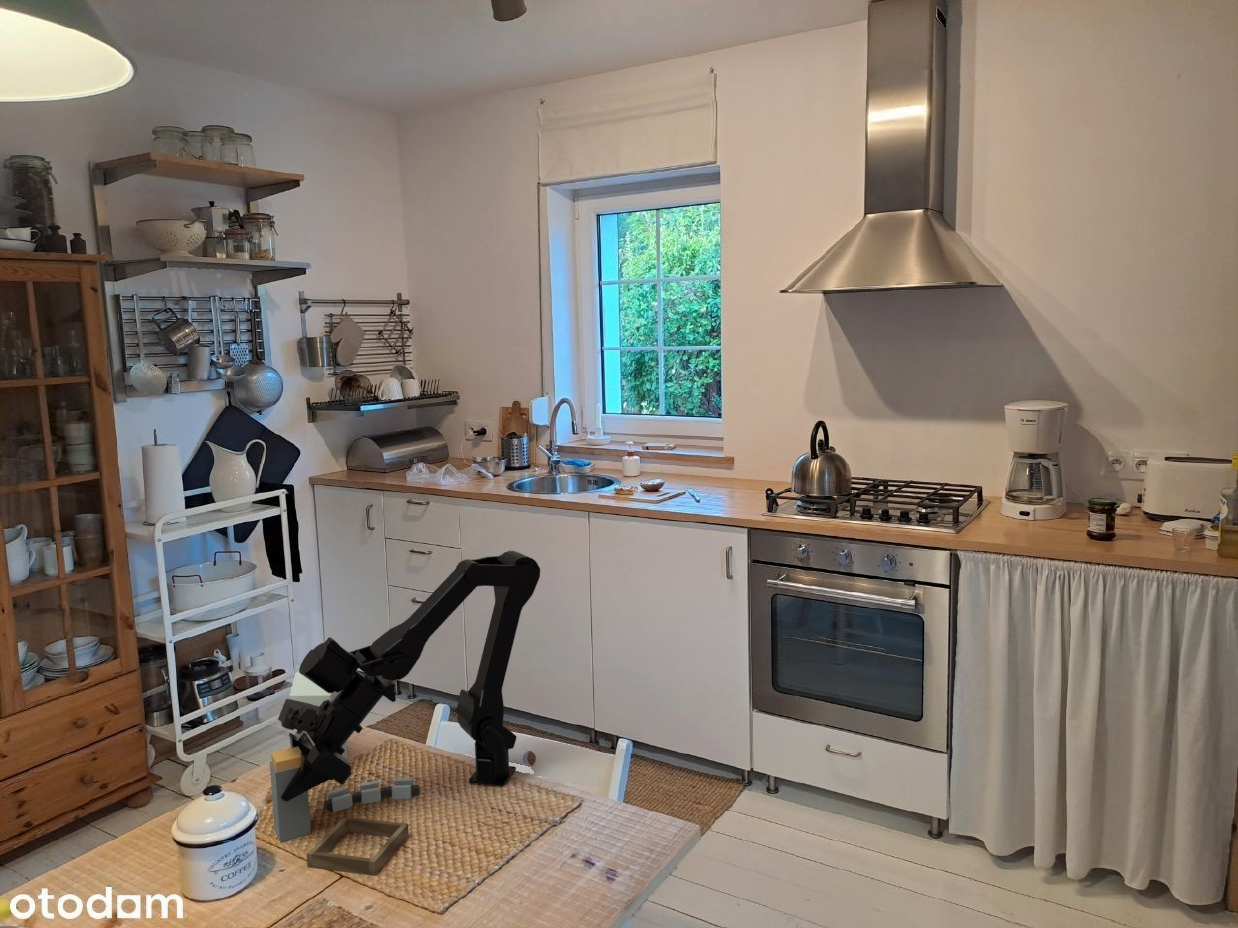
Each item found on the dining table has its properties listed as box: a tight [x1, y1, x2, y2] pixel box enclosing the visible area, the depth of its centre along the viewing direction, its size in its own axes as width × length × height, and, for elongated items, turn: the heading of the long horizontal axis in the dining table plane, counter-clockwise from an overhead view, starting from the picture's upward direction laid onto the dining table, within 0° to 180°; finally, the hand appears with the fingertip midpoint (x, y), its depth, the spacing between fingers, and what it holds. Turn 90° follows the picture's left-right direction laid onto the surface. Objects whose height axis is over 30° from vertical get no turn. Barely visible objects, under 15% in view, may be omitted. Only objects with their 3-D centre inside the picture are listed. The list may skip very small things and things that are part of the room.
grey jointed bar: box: [323, 777, 421, 813], centre depth 148 cm, size 4×15×2 cm, turn 110°
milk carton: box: [289, 665, 348, 761], centre depth 158 cm, size 7×7×19 cm
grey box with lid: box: [269, 747, 312, 843], centre depth 138 cm, size 4×4×12 cm
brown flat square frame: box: [306, 816, 410, 876], centre depth 133 cm, size 11×11×2 cm
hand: (280, 793), depth 137 cm, fingers closed on grey box with lid, 4 cm apart
